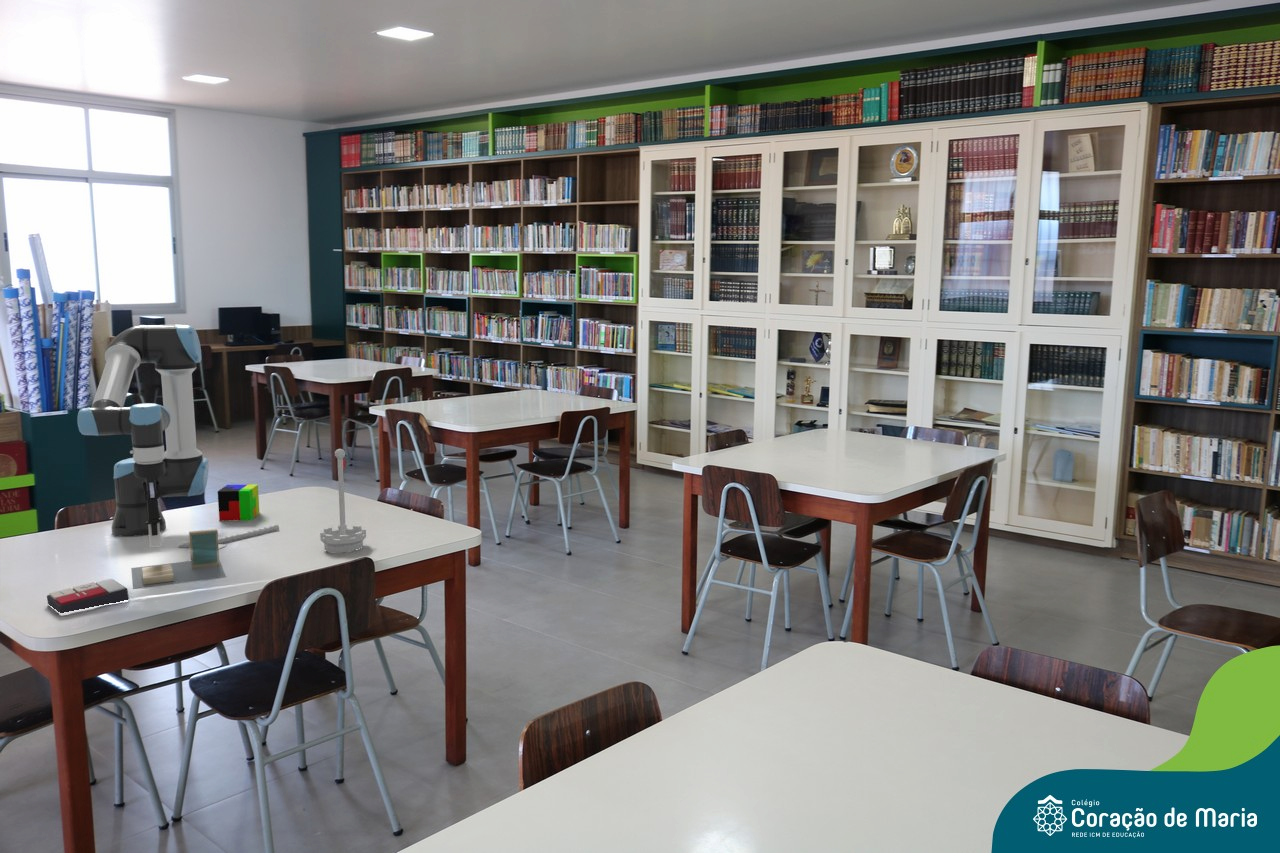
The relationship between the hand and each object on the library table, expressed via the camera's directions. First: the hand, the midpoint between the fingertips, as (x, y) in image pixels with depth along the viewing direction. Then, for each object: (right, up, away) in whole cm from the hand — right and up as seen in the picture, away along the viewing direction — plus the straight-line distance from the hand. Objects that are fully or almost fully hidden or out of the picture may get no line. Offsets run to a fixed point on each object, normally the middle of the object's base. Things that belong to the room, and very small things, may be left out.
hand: (155, 545), depth 259 cm
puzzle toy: (-2, +2, +59) cm, 59 cm away
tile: (+2, -6, -4) cm, 7 cm away
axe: (+8, -3, +31) cm, 32 cm away
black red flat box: (-3, -11, -26) cm, 29 cm away
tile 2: (+12, -6, +3) cm, 14 cm away
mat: (+8, -7, -3) cm, 11 cm away
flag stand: (+44, -4, +24) cm, 50 cm away
